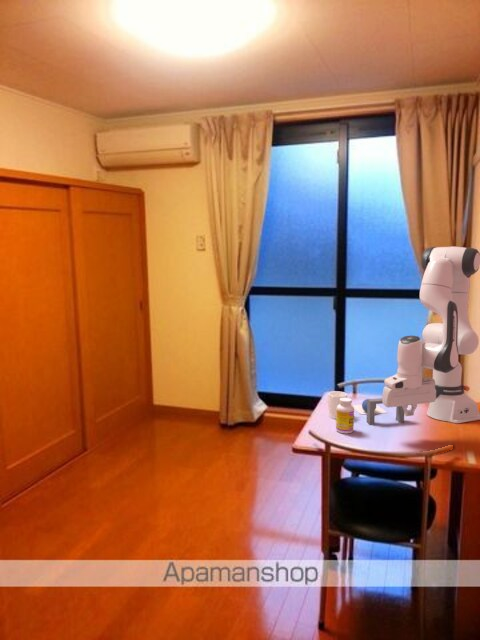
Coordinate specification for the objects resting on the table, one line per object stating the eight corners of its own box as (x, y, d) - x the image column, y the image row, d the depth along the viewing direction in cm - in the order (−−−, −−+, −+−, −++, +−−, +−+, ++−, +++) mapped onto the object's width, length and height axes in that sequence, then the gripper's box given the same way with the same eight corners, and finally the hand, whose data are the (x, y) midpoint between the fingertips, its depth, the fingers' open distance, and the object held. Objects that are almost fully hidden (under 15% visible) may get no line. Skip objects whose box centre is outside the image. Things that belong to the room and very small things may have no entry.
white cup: (348, 419, 205) (348, 396, 203) (329, 419, 205) (329, 396, 204) (344, 413, 213) (345, 391, 211) (326, 413, 213) (326, 391, 211)
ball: (374, 395, 215) (380, 404, 210) (370, 405, 218) (376, 415, 213) (361, 396, 213) (367, 405, 209) (358, 406, 217) (363, 415, 212)
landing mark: (375, 404, 225) (375, 403, 225) (387, 412, 213) (387, 412, 213) (350, 405, 222) (350, 405, 222) (361, 414, 211) (361, 414, 211)
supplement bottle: (349, 435, 188) (350, 403, 186) (333, 432, 192) (334, 400, 190) (355, 429, 194) (356, 398, 192) (339, 426, 197) (340, 395, 195)
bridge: (366, 422, 202) (367, 399, 201) (400, 419, 205) (401, 397, 203) (369, 424, 199) (370, 401, 198) (403, 422, 202) (405, 399, 200)
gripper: (430, 374, 187) (429, 409, 190) (380, 380, 184) (380, 415, 186) (440, 379, 181) (439, 415, 184) (388, 385, 178) (388, 421, 180)
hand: (409, 415), depth 185 cm, fingers closed
